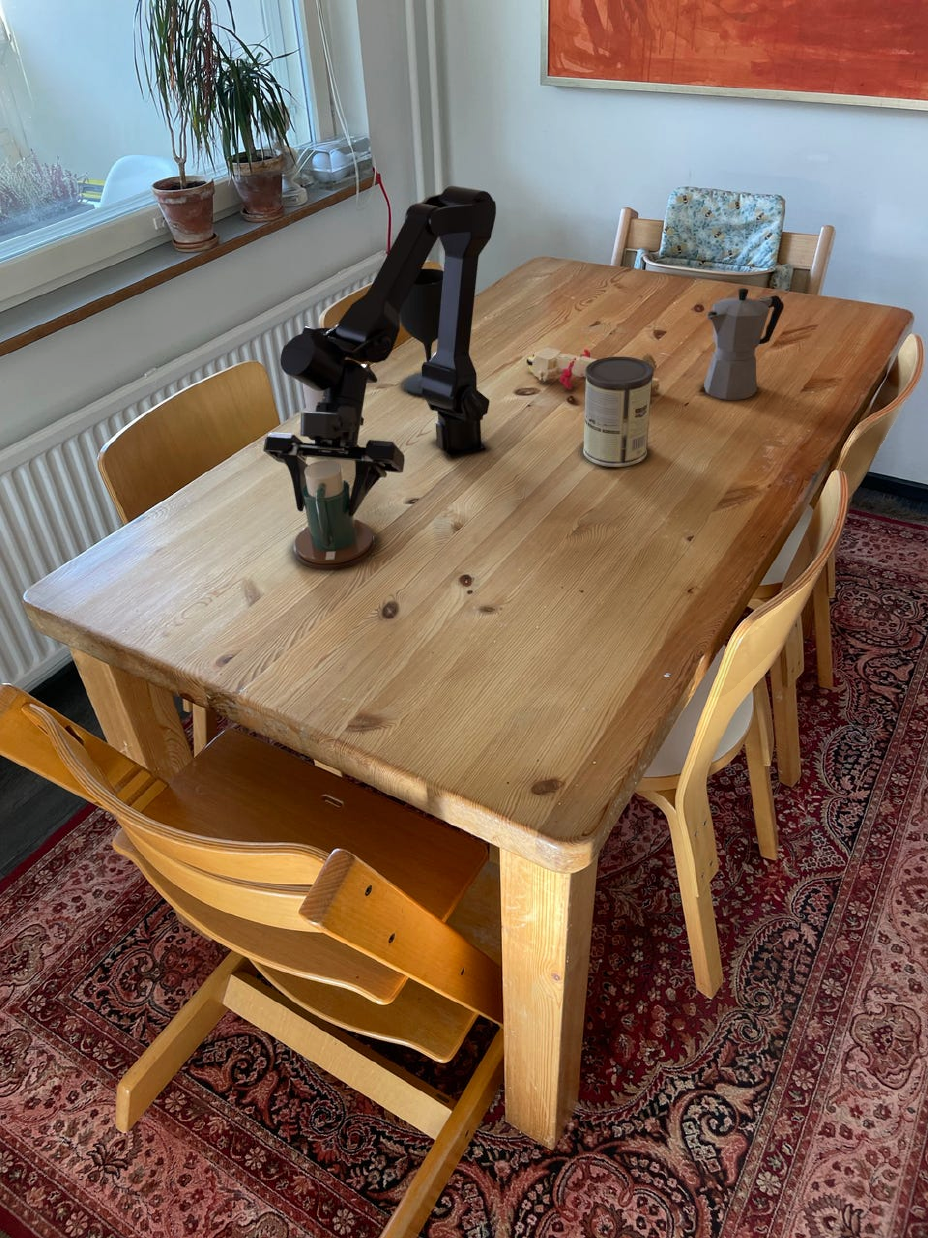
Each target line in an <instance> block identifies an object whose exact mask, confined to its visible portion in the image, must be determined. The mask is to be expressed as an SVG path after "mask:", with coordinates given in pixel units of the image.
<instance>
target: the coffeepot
mask: <svg viewBox="0 0 928 1238" xmlns="http://www.w3.org/2000/svg"><path fill="white" fill-rule="evenodd" d="M737 292H738V297H724V298H722V299H720V300H718V301H716V302H714V303H713V304H712V309H711V310H709V311H708V312H707V314H706V318H707V319H709V320H710V322H711V324H712V326H713V343H714V345H715V350H714V352H713V354H712V356H711V359H710V363H709V366H708V369H707V372H706V376H705V379H704V383H703V387H704V390H705V393H707V394H708V396H711V397H713V398H715V399H718V400H719V399H720V400H725V401H741V400H745V399H748V398H750V397H752V396H753V395H754V394H755V393H756V392H757V389H758V388H757V358H756V354H755V353H756V349H757V347H759V346H760V345H764V344H767V343H769V342H770V340H771V338H772V336H773V333H774V331H775V330H776V327H777V324H778V323H779V319H780V317H781V315H782V313H783V311H784V308H785V307H784V306H785V304H784V302H783V301H782V299H781V297H780V296H779V295H777V294H775V295H771V296H763V297H760V298H759V299H755V298H751V297H748V293H749V289H748V288H745V287H743V288H739V289H738V291H737ZM771 308H773V309H772V311H771ZM770 311H771V315H770V318H769V322H768V323H767V320H768V316H769V314H770ZM766 323H767V325H766ZM765 326H766V328H765ZM764 330H765V333H764ZM763 333H764V336H763ZM762 336H763V337H762Z"/></svg>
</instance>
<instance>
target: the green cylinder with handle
mask: <svg viewBox="0 0 928 1238" xmlns="http://www.w3.org/2000/svg"><path fill="white" fill-rule="evenodd" d="M308 465H309V466H307V467H306V469H305V471H304V473H305V479H306V486H305V487H304V488H303V498H304V504H305V506H304V509H305V516H306V521H307V526H305V527H304V528H303V529H301V530H300V531H299V532H298V534H297V535H296V536H295V539H294V542H295V548H296V551H297V553H298V554H299V555H300V556H301V557H302V558H304V559H306V560H308V561H311V562H314V563H320V564H334V563H341V562H346V561H349V560H352V559H354V558H356V557H358V556H360V555H362V554H363V553H365V552H366V551H367V550H368V549H369V548H370V546H371V544H372V542H373V534H372V532H373V531H372V529H371V527H370V526H369V525H367V524H366V523H365V522H364V521H361V520H358V519H355V515H354V516H349V515H348V510H349V502H350V497H351V486H350V484H349V482H348V481H346V480H345V479H344V475H343V468H342V465H341V464H340V463H339V462H337V461H333V460H319V461H315V462H312V463H310V464H308Z"/></svg>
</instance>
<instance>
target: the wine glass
mask: <svg viewBox="0 0 928 1238" xmlns="http://www.w3.org/2000/svg"><path fill="white" fill-rule="evenodd" d="M443 272H444V270H442V269H438V268H422V269H421V271H420V273H419V275H418V277H417V279H416V280H415V282H414V284H413V286H412V288H411V290H410V292H409V294H408V296H407V298H406V300H405V302H404V303H403V305H402V308H401V311H400V313H399V319H400V326H401V327H402V328H403V329H404V331H405V332H406V333H407V334H409V336H411V337H412V338H413V339H415V340H417V341H418V342H420V343H421V344H422V345H423V347H424V352H425V358H426V361H425V362H429V361H430V360H431V358H432V347H433V344H434V342H436V341H438V331H439V319H440V308H441V296H442V284H443ZM421 378H422V372H419V373H415V374H413V375H410V376H408V377H407V378H406V379H405V380H404V381H403V384H402V385H403V390H404V391H406V392H407V393H409V394H410V395H413V396H417V397H423V396H422V388H420V387H419V386H420V383H421Z"/></svg>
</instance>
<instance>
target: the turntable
mask: <svg viewBox="0 0 928 1238" xmlns="http://www.w3.org/2000/svg"><path fill="white" fill-rule="evenodd" d="M372 534H373V542H372V544H371V546H370V548H369V549H368V550H367V551H366V552H365V553H363V554H362V555H360V556H358V557H356V558H354V559H352V560H349V561H346V562H341V563H334V564H320V563H314V562H311V561H308V560H306V559H304V558H302V557H301V556H300V555H299V554H298V553H297V551H296V548H295V541H294V543H293V547H292V549H293V554H294V557H295V559H296V560H297V562H299V564H301V565H303V566H304V567H306V568H309V569H312V570H317V571H339V570H343V569H349V568H351V567H354V566H357V565H360V564H361V563H363V562H364V561H366V560H367V559H369V558H370V557H371V555H372V554H373V553H374V551H375V549H376V546H377V542H376V536H375V533H374V532H373V531H372Z"/></svg>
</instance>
